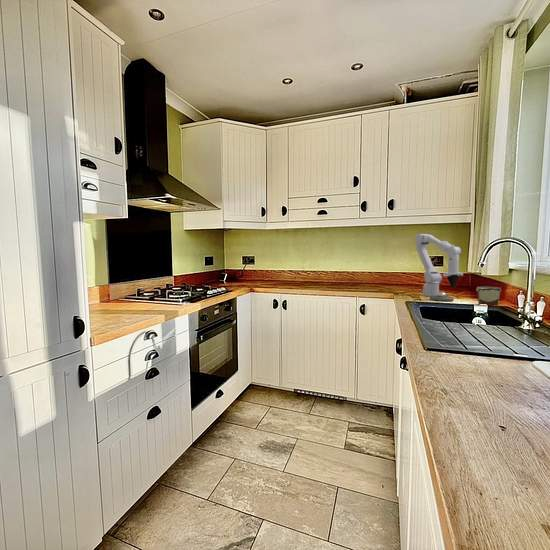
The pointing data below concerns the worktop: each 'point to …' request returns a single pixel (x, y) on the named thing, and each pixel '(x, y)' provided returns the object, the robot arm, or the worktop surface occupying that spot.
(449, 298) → the turntable
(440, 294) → the cover
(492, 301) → the food container
